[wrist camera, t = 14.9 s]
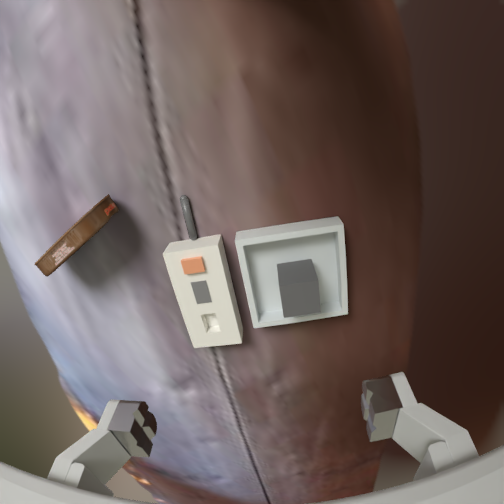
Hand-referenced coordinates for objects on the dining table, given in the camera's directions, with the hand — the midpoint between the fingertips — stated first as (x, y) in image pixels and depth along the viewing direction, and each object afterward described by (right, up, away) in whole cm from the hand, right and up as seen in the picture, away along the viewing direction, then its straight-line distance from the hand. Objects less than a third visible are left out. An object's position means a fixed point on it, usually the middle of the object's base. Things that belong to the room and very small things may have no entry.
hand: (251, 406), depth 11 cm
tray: (+6, +3, +32) cm, 33 cm away
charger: (+6, +3, +32) cm, 33 cm away
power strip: (-7, +3, +33) cm, 34 cm away
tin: (-23, +9, +31) cm, 40 cm away
